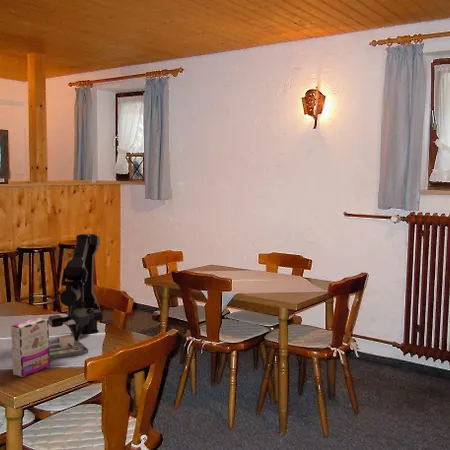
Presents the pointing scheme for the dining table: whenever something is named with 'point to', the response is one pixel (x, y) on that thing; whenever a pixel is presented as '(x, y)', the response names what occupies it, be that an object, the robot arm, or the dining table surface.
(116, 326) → the dining table surface
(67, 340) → the cube with stick handle
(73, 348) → the bench gauge
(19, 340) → the candy bar box
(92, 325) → the robot arm
